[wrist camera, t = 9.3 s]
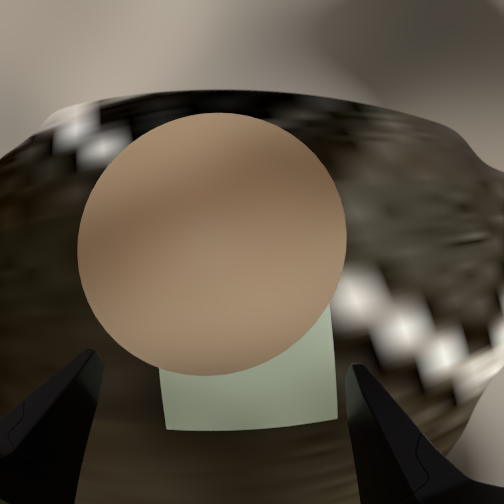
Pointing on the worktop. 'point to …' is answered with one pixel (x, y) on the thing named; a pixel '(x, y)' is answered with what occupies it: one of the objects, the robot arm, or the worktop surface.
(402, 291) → the worktop surface
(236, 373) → the board
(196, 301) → the tan turned knob
